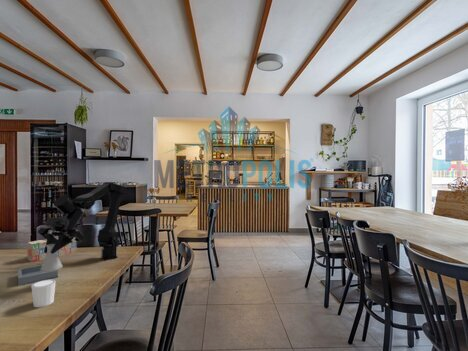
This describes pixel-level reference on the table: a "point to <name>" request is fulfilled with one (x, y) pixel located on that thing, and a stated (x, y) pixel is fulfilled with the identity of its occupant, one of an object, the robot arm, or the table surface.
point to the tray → (34, 275)
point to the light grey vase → (51, 261)
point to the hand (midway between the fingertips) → (48, 252)
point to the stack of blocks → (38, 248)
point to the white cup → (43, 292)
